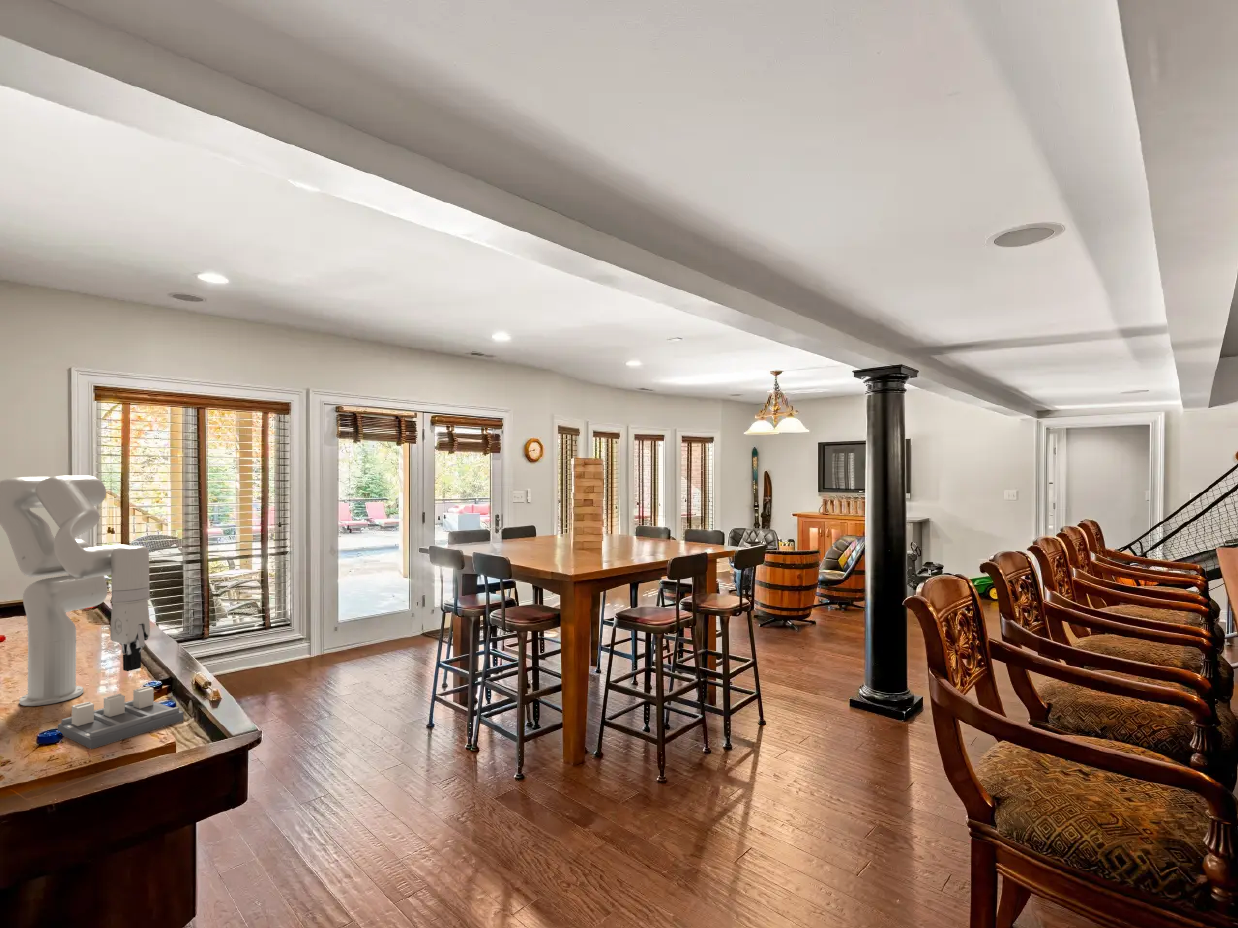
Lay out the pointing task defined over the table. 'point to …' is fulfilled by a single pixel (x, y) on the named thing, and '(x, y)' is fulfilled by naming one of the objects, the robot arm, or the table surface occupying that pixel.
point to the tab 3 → (143, 697)
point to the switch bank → (120, 724)
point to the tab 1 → (82, 713)
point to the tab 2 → (114, 705)
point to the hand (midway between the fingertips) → (132, 669)
